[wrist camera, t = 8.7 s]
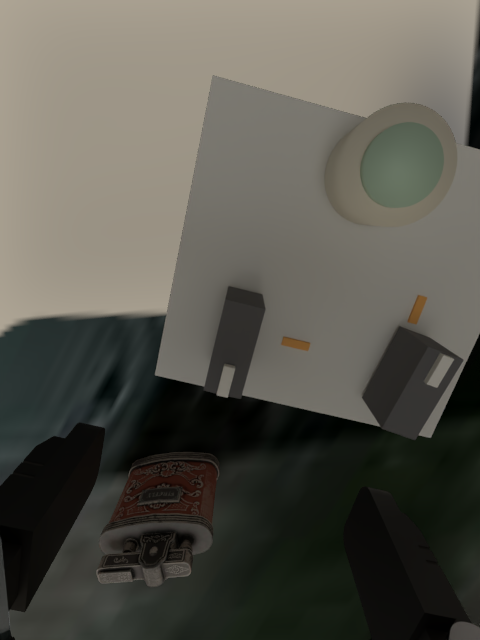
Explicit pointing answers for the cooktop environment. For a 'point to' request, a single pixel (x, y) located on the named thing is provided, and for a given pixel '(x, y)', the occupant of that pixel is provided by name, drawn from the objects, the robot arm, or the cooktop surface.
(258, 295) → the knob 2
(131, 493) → the lighter
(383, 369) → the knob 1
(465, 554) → the cooktop surface
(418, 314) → the base plate
